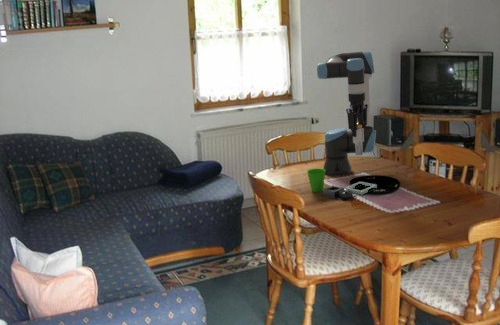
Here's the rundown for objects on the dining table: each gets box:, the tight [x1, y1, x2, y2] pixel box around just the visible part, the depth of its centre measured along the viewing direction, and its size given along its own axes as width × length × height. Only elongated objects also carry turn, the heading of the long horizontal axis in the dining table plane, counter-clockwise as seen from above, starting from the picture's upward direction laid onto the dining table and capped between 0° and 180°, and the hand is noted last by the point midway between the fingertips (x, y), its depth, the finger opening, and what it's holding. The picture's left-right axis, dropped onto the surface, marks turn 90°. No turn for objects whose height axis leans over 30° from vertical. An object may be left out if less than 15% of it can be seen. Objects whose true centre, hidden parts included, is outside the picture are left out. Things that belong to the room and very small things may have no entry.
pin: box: [354, 124, 364, 156], centre depth 279 cm, size 4×4×14 cm
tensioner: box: [320, 184, 357, 202], centre depth 279 cm, size 9×15×5 cm, turn 42°
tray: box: [344, 181, 378, 196], centre depth 285 cm, size 12×10×2 cm
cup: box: [306, 167, 325, 193], centre depth 288 cm, size 9×9×11 cm
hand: (358, 142), depth 279 cm, fingers closed on pin, 3 cm apart
